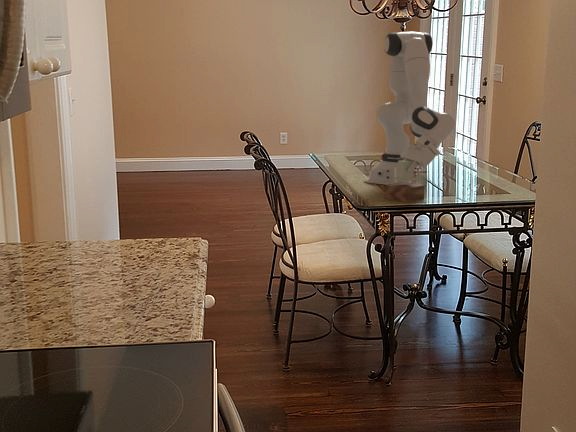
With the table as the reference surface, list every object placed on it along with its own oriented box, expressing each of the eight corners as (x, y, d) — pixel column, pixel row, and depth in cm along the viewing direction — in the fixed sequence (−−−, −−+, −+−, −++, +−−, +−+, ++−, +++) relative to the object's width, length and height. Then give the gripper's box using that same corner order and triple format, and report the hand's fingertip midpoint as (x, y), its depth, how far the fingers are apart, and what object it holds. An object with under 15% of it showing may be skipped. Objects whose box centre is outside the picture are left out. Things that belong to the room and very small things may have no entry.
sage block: (401, 181, 298) (402, 162, 297) (395, 178, 304) (395, 160, 303) (415, 180, 300) (416, 161, 298) (408, 178, 306) (409, 159, 304)
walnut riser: (384, 198, 304) (385, 185, 303) (401, 195, 312) (402, 181, 311) (406, 202, 296) (407, 188, 295) (424, 199, 304) (424, 185, 303)
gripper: (410, 138, 310) (389, 161, 310) (432, 143, 291) (410, 168, 291) (419, 148, 312) (398, 170, 312) (442, 153, 293) (419, 178, 293)
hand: (404, 169), depth 301 cm, fingers closed on sage block, 5 cm apart
